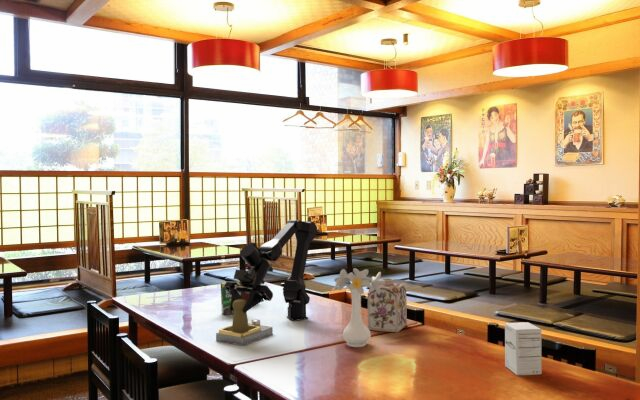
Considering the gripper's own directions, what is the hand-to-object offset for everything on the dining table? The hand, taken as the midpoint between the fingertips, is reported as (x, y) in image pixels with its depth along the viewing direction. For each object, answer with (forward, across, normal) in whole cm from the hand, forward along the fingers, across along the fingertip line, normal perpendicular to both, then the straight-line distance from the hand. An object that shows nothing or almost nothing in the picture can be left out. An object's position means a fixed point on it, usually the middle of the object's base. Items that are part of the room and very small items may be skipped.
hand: (237, 311), depth 181 cm
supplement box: (-5, +90, +20) cm, 92 cm away
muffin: (-25, -38, +40) cm, 60 cm away
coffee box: (-12, -29, +27) cm, 41 cm away
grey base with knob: (+4, 0, +10) cm, 11 cm away
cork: (+4, 0, +6) cm, 8 cm away
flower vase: (-4, +38, +19) cm, 43 cm away
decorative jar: (-21, +37, +36) cm, 56 cm away
